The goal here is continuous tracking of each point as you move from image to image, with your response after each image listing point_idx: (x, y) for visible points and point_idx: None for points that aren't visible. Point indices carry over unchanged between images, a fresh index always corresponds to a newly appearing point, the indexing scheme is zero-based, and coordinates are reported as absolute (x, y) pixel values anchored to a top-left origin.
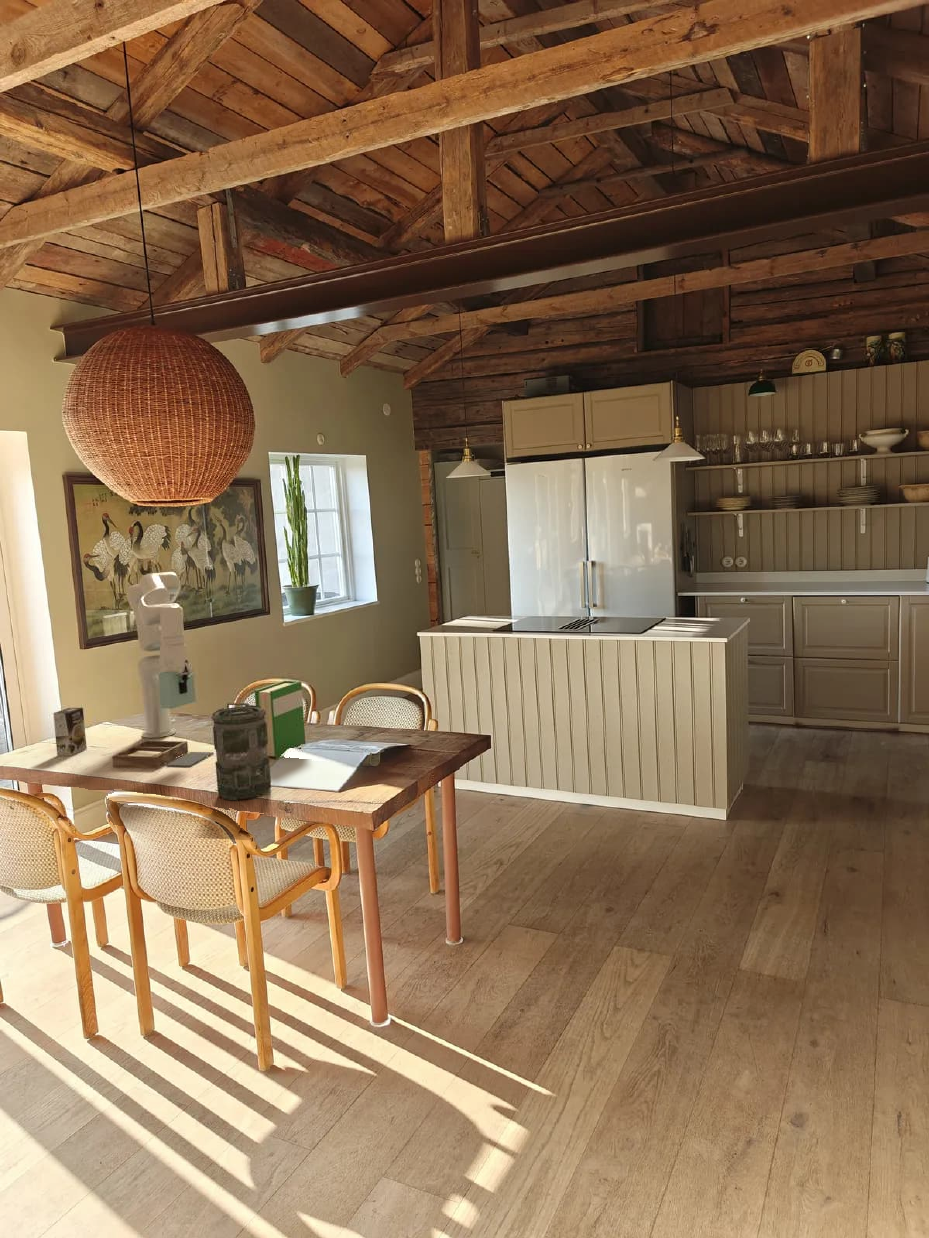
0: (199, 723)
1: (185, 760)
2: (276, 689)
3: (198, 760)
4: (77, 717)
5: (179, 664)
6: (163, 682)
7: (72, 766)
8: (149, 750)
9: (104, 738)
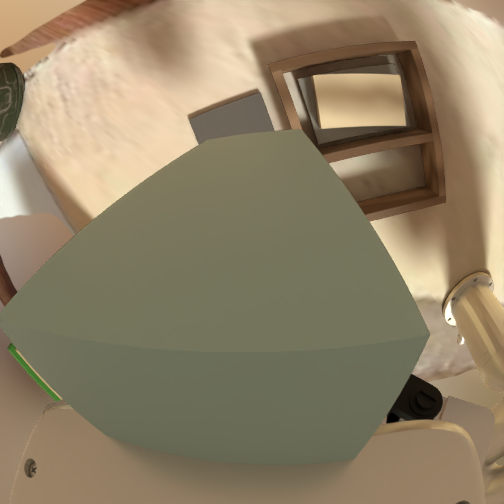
0: (427, 361)
1: None
2: (20, 364)
3: None
4: None
5: (17, 498)
6: (219, 198)
7: (484, 48)
8: (382, 139)
9: None
